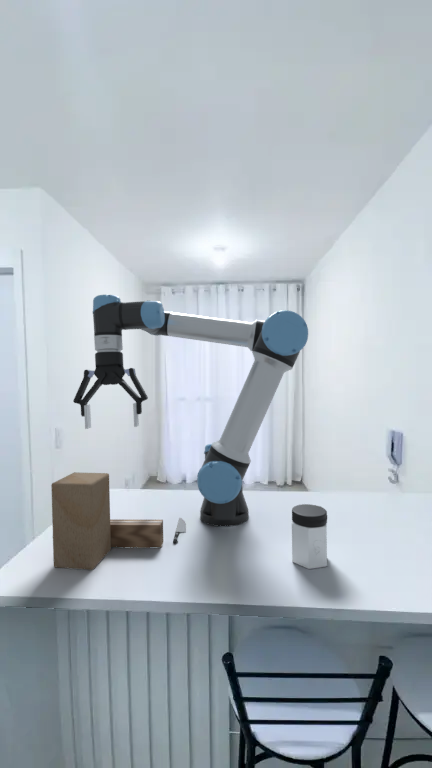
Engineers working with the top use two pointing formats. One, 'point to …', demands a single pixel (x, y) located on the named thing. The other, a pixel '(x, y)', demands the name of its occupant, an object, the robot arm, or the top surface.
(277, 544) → the top surface
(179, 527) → the chef's knife
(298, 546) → the jar
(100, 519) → the wooden block
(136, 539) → the brown wooden bar
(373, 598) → the top surface
